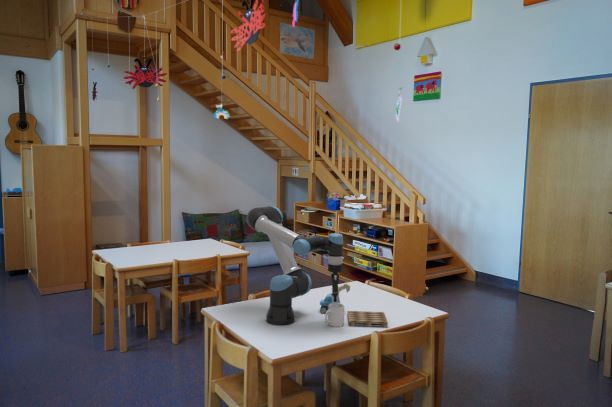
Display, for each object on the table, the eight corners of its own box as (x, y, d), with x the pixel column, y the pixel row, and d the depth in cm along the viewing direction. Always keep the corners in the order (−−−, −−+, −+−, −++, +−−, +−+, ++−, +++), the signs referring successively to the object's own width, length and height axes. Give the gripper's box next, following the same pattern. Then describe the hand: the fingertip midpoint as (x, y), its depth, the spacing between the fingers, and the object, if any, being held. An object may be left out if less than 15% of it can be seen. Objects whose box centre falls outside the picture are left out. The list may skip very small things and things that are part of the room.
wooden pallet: (348, 326, 256) (349, 320, 255) (347, 316, 272) (347, 310, 271) (387, 327, 255) (387, 321, 255) (383, 317, 271) (383, 312, 271)
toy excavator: (348, 316, 272) (349, 285, 270) (318, 313, 275) (319, 283, 274) (349, 311, 280) (351, 281, 279) (321, 308, 284) (321, 279, 282)
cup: (347, 324, 258) (347, 305, 257) (330, 329, 250) (331, 310, 249) (335, 320, 264) (336, 302, 263) (319, 325, 256) (320, 306, 255)
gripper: (343, 269, 241) (342, 311, 243) (341, 258, 266) (341, 297, 268) (328, 268, 241) (327, 311, 243) (327, 258, 266) (327, 297, 268)
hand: (334, 304), depth 256 cm, fingers open, 13 cm apart
